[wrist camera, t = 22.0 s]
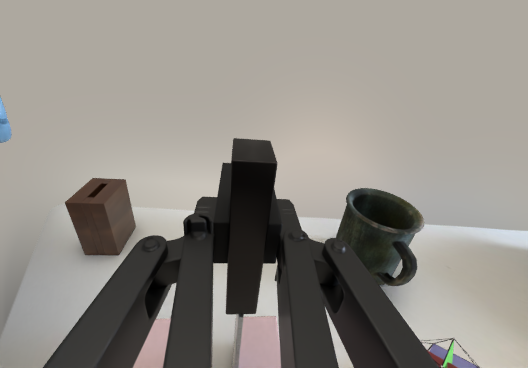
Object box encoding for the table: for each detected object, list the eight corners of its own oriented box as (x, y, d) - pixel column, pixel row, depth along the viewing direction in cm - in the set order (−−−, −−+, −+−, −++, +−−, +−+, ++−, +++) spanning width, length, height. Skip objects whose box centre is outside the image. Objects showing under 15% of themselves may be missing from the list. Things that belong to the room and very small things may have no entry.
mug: (371, 239, 47) (394, 188, 41) (422, 309, 34) (465, 250, 28) (320, 239, 45) (335, 186, 39) (353, 313, 33) (383, 251, 27)
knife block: (84, 254, 37) (64, 202, 32) (107, 225, 43) (92, 177, 38) (118, 255, 37) (103, 203, 32) (135, 226, 43) (125, 179, 38)
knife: (222, 406, 20) (231, 162, 9) (224, 365, 23) (233, 136, 11) (243, 405, 20) (278, 164, 9) (243, 365, 23) (270, 139, 12)
